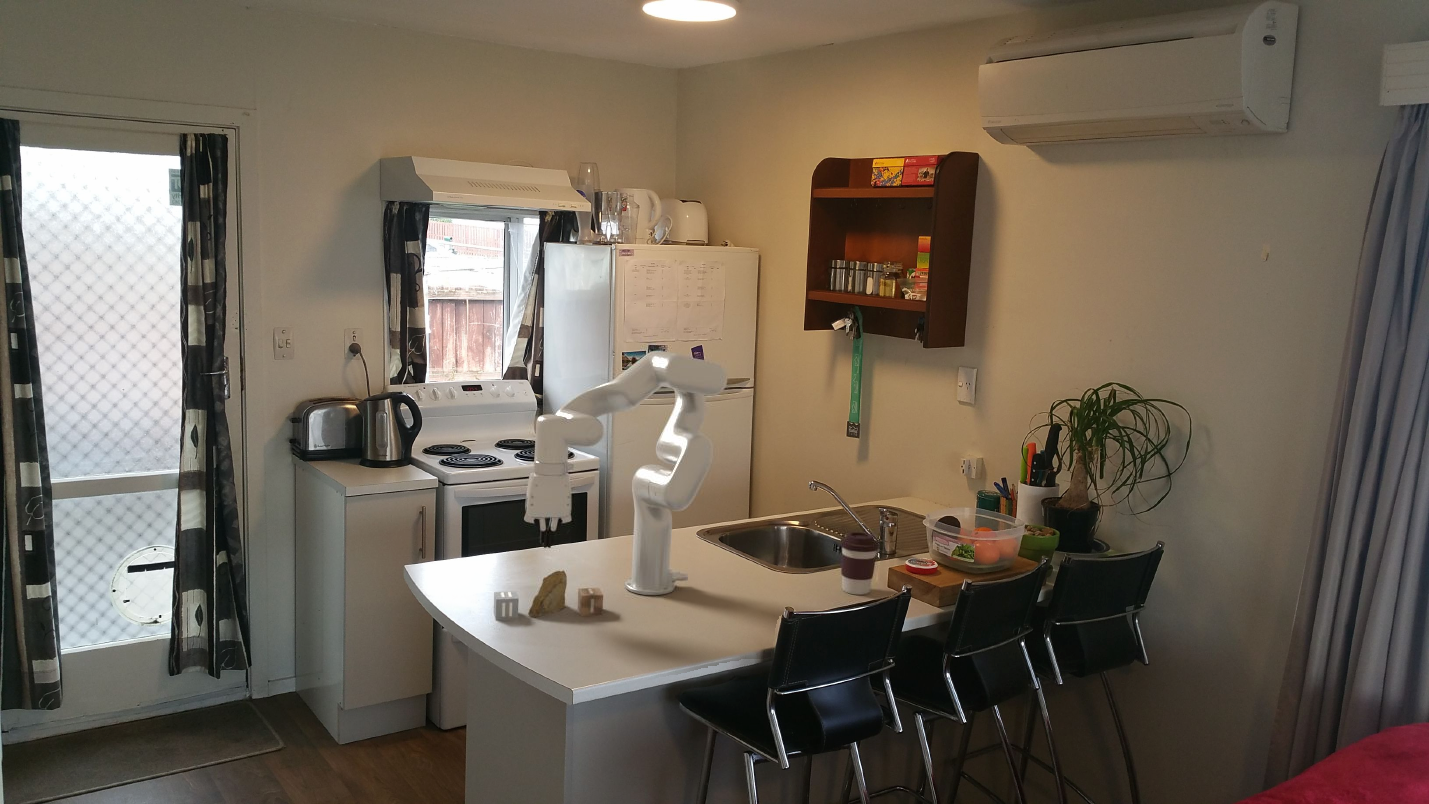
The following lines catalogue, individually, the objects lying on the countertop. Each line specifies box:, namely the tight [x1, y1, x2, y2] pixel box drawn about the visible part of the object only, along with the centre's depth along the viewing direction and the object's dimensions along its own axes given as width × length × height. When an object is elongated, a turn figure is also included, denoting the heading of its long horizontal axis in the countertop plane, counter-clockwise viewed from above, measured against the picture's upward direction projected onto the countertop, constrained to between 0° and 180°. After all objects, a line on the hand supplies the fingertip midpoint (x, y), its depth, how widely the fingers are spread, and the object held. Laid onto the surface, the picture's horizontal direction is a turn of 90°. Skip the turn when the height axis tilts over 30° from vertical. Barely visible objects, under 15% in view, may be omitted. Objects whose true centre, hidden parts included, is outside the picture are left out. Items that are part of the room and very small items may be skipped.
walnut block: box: [577, 587, 604, 617], centre depth 244 cm, size 5×5×5 cm
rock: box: [527, 570, 568, 618], centre depth 243 cm, size 11×9×10 cm
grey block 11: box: [493, 590, 520, 621], centre depth 238 cm, size 5×5×5 cm
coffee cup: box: [839, 531, 880, 596], centre depth 269 cm, size 10×10×15 cm
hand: (546, 546), depth 240 cm, fingers closed
